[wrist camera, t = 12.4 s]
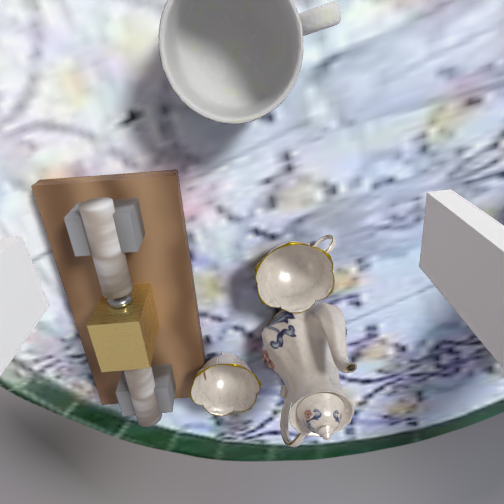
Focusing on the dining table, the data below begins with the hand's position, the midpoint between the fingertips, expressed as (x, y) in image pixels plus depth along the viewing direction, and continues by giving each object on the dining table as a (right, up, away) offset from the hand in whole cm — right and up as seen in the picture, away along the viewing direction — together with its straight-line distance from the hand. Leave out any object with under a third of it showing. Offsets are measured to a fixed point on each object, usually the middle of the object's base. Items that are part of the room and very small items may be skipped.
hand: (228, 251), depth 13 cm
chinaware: (+4, -9, +38) cm, 40 cm away
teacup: (0, +19, +23) cm, 30 cm away
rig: (-13, -5, +35) cm, 38 cm away
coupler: (-13, -6, +33) cm, 36 cm away
